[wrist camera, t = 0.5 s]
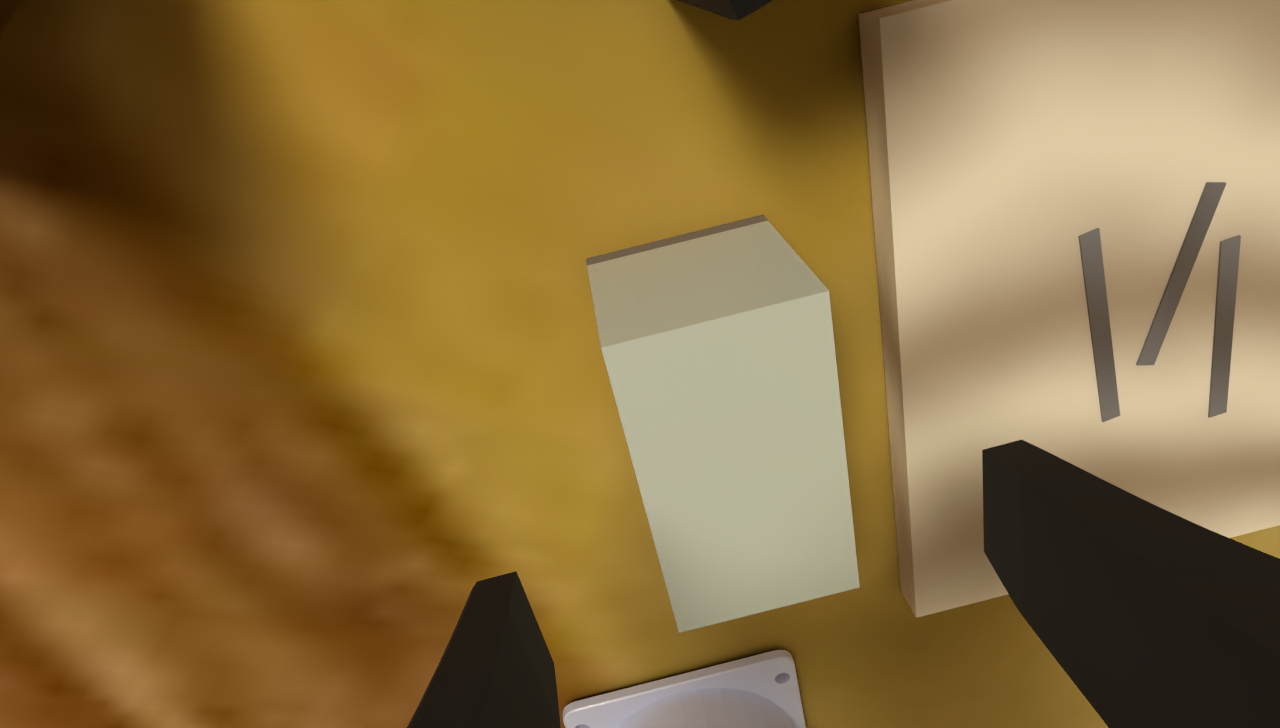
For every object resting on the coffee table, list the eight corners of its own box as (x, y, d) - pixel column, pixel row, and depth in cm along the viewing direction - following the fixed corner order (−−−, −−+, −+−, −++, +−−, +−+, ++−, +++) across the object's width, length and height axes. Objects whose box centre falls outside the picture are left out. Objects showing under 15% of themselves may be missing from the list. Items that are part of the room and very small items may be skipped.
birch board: (1306, 486, 26) (1341, 510, 25) (900, 590, 26) (917, 619, 25) (1469, -140, 17) (1533, -147, 16) (858, 14, 17) (881, 18, 16)
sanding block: (797, 466, 23) (859, 587, 19) (651, 503, 23) (678, 633, 19) (761, 212, 19) (828, 290, 15) (585, 257, 19) (601, 348, 15)
